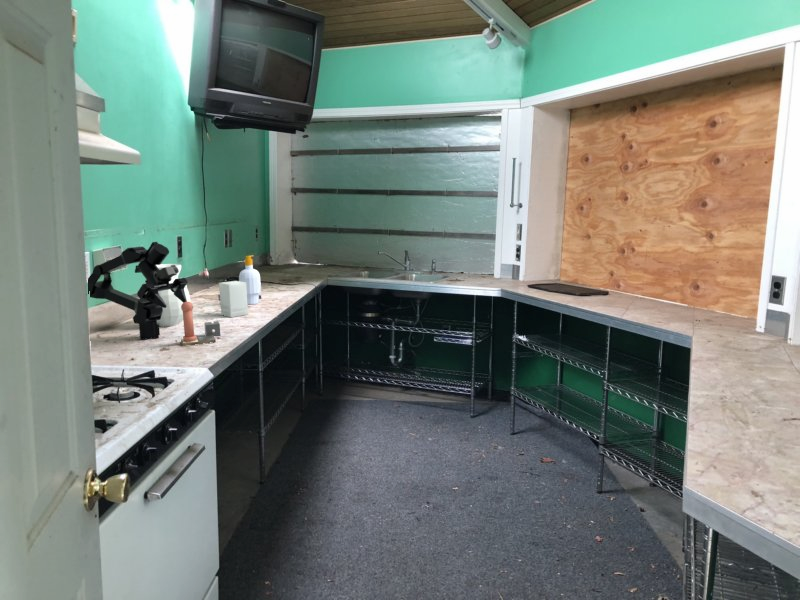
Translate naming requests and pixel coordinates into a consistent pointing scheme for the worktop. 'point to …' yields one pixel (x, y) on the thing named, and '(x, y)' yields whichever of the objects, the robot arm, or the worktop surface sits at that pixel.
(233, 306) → the supplement box
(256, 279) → the soap bottle
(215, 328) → the die
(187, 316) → the pawn
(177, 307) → the pitcher
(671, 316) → the worktop surface
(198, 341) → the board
